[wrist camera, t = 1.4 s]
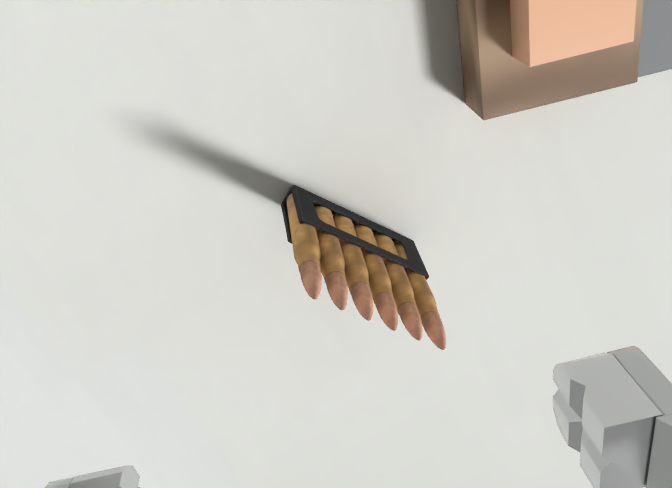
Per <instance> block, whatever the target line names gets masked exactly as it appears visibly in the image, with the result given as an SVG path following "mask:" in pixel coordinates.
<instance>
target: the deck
mask: <svg viewBox="0 0 672 488" xmlns="http://www.w3.org/2000/svg"><path fill="white" fill-rule="evenodd" d="M643 1H644V0H637V2H636V15H635V29H634V41H633V42H629V43H625V44H621V45H617V46H613V47H609V48H605V49H601V50H597V51H593V52H589V53H585V54H581V55H577V56H573V57H569V58H565V59H561V60H557V61H553V62H549V63H545V64H541V65H537V66H533V67H529V66H527V65H525V64H524V63H522V62H520V61H518V60H517V59H515V58H513V57H512V37H511V12H510V0H457V11H458V23H459V35H460V46H461V58H462V69H463V81H464V93H465V104H466V105H467V106H469V107H470V108H471V109H472V110H473V111H474V112H475V113H476V114H477V115H478V116H480V117H481V118H482V119H483V120H487V119H491V118H495V117H499V116H503V115H507V114H511V113H515V112H519V111H523V110H527V109H531V108H535V107H539V106H543V105H547V104H551V103H555V102H559V101H563V100H567V99H571V98H575V97H579V96H583V95H587V94H591V93H595V92H599V91H603V90H607V89H611V88H615V87H619V86H623V85H627V84H631V83H635V82H637V77H638V65H639V52H640V39H641V26H642V14H643Z"/></svg>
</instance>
